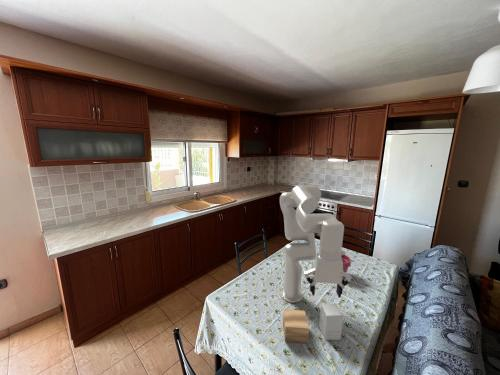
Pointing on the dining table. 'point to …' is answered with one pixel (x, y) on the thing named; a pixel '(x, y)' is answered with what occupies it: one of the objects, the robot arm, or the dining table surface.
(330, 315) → the supplement box
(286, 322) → the tower top
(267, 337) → the dining table surface
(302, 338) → the tower base
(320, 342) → the dining table surface
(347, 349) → the dining table surface
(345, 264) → the plant pot
